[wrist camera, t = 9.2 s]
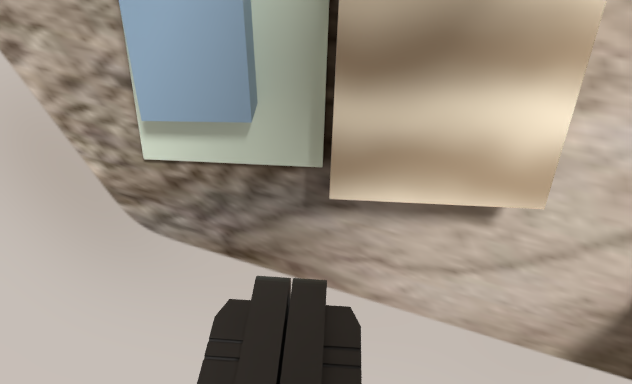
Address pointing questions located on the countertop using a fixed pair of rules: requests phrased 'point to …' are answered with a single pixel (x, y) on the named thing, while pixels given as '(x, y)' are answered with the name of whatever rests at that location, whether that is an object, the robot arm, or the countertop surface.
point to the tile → (192, 59)
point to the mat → (263, 97)
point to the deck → (456, 98)
